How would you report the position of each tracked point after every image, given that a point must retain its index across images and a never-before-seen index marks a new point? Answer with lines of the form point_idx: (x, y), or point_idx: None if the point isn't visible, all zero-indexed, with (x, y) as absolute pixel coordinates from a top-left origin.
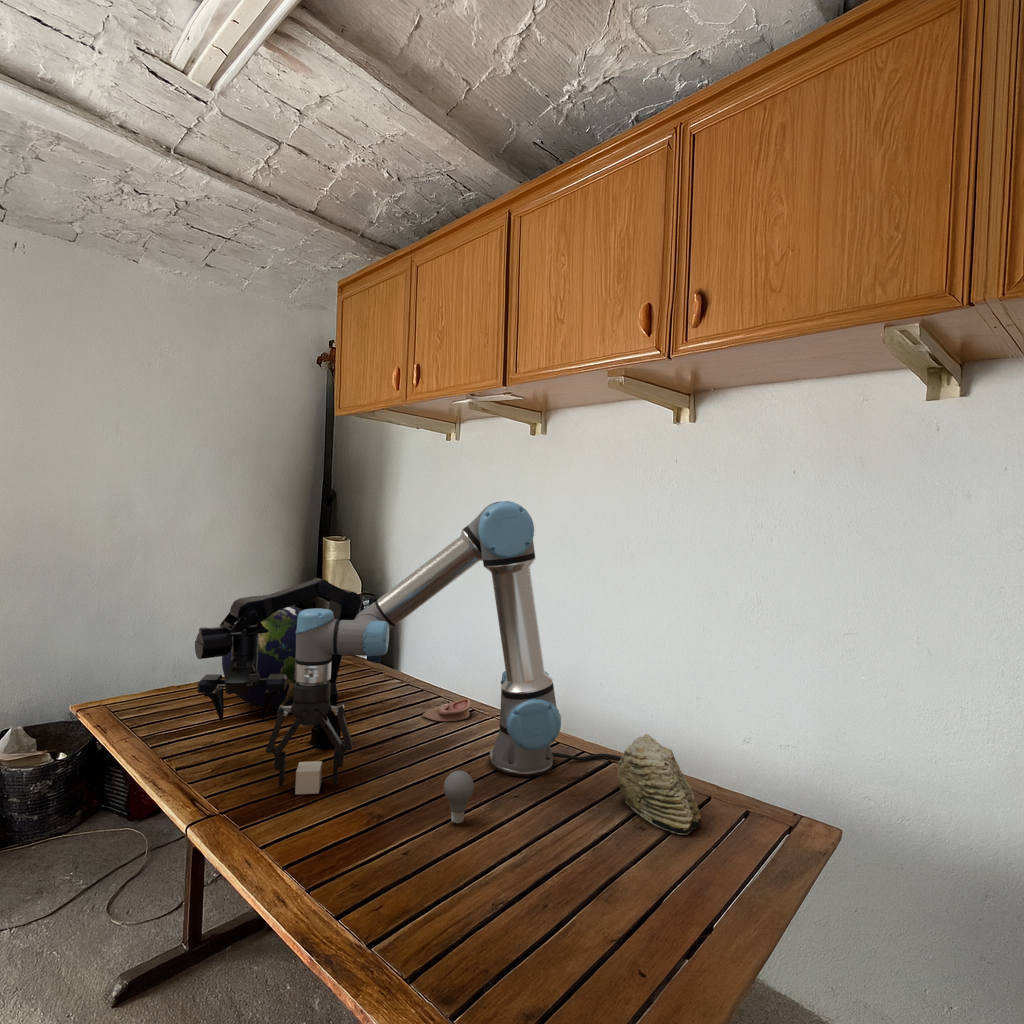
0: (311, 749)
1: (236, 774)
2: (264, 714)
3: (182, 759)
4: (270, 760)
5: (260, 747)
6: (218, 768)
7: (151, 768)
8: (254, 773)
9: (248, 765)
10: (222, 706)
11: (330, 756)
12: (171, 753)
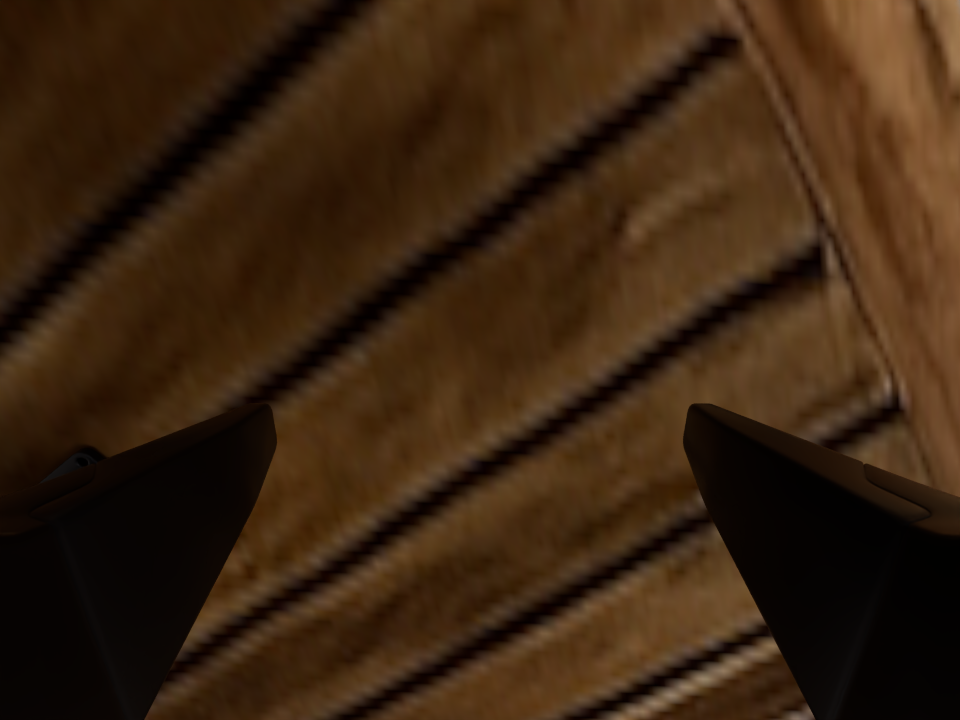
0: None
1: (473, 153)
2: (212, 423)
3: (799, 387)
4: (329, 337)
5: (428, 500)
6: (593, 252)
7: (953, 284)
8: (369, 158)
9: (434, 279)
10: (759, 539)
11: (10, 364)
12: None
